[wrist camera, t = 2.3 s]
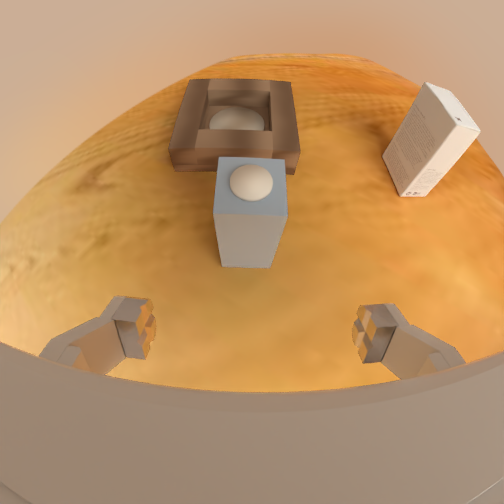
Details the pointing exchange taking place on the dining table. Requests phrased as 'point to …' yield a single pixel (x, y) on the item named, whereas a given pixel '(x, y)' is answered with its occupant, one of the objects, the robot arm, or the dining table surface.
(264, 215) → the post
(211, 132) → the socket block
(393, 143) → the skincare box
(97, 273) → the dining table surface
